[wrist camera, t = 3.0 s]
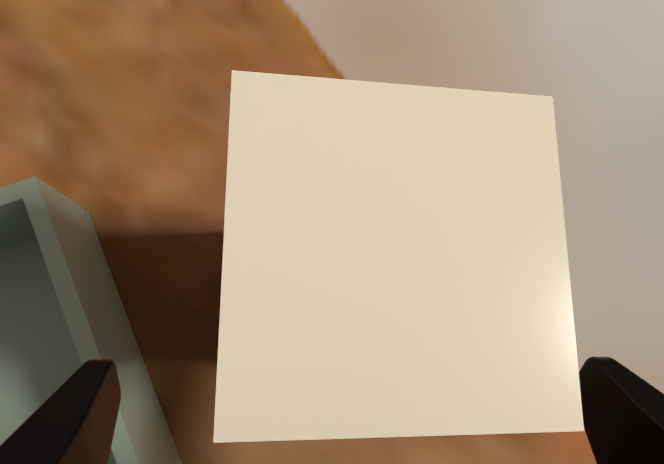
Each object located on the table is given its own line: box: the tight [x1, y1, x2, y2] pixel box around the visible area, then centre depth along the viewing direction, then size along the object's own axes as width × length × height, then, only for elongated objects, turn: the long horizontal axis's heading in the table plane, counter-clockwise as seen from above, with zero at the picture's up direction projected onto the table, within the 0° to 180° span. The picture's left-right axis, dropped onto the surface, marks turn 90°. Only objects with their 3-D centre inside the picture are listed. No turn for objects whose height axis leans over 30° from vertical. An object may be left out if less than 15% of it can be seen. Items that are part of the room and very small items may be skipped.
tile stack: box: [213, 70, 584, 443], centre depth 12 cm, size 5×5×12 cm
